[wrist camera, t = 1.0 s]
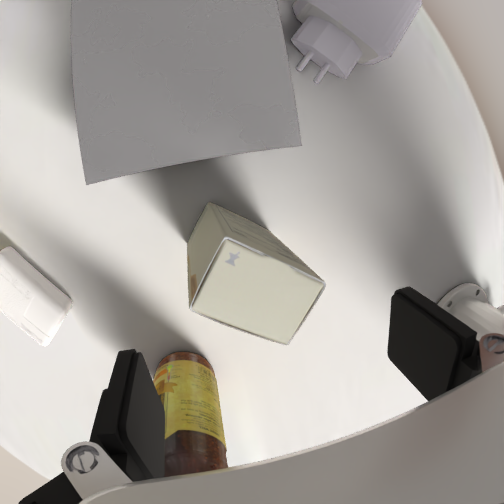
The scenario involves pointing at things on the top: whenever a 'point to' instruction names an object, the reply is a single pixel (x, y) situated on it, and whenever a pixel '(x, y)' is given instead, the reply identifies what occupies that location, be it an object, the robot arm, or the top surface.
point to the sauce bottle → (190, 415)
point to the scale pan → (178, 82)
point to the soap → (30, 298)
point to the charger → (350, 32)
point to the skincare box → (248, 277)
